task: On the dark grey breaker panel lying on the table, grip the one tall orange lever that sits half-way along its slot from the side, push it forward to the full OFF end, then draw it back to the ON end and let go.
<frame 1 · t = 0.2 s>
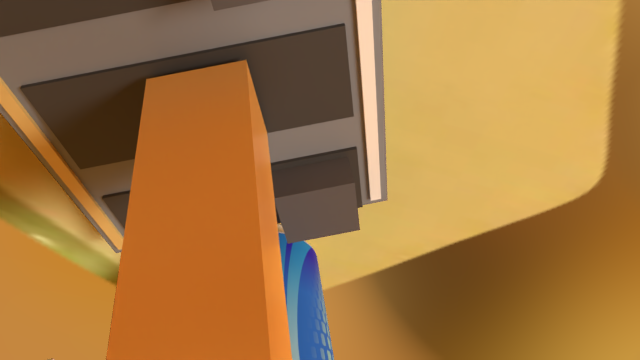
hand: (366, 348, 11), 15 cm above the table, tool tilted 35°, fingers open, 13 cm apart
breaker panel: (202, 73, 22), on the table
orange lever: (211, 256, 16), point 10 cm above the table, slide at 0.4 cm
beer can: (254, 249, 34), on the table
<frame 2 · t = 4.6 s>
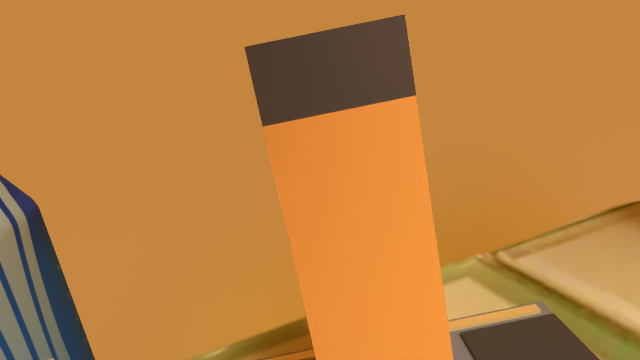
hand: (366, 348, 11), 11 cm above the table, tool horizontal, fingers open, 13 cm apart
orange lever: (364, 269, 16), point 10 cm above the table, slide at 0.4 cm
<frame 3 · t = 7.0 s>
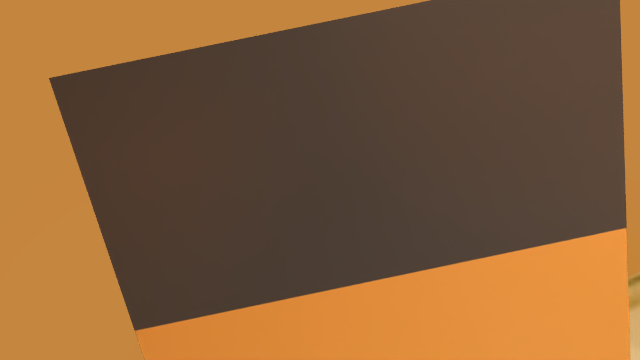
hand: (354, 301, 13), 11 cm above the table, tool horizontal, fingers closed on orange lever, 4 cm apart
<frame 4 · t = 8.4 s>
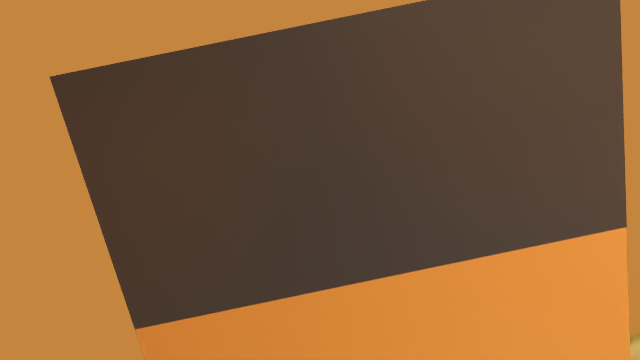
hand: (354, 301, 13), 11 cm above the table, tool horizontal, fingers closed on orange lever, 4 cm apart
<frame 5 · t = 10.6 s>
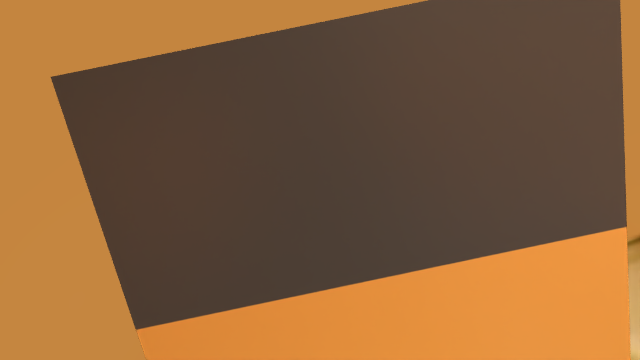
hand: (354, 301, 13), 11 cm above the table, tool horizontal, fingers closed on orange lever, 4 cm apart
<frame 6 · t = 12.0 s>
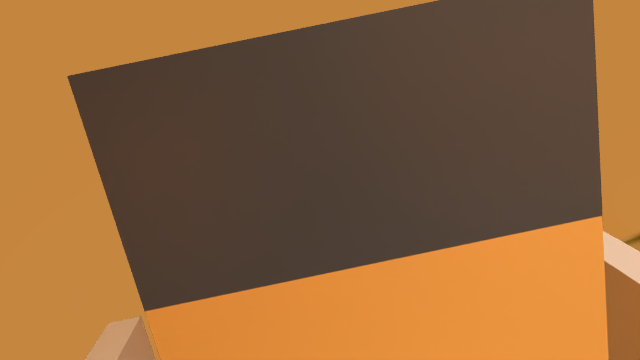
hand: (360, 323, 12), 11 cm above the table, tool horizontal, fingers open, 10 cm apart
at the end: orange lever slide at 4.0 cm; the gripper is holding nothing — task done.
